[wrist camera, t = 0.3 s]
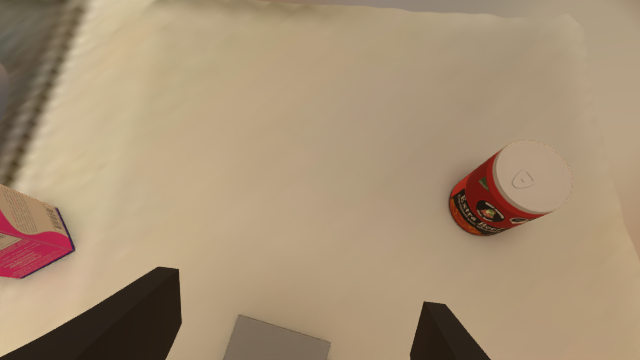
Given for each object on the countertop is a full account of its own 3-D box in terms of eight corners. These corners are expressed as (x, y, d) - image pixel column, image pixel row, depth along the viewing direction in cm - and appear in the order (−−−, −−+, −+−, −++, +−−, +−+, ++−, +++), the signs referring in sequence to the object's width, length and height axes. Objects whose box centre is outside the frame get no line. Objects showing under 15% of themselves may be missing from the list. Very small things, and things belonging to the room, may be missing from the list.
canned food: (435, 205, 44) (480, 172, 34) (472, 166, 47) (525, 124, 36) (483, 251, 43) (546, 230, 32) (519, 208, 45) (588, 176, 35)
